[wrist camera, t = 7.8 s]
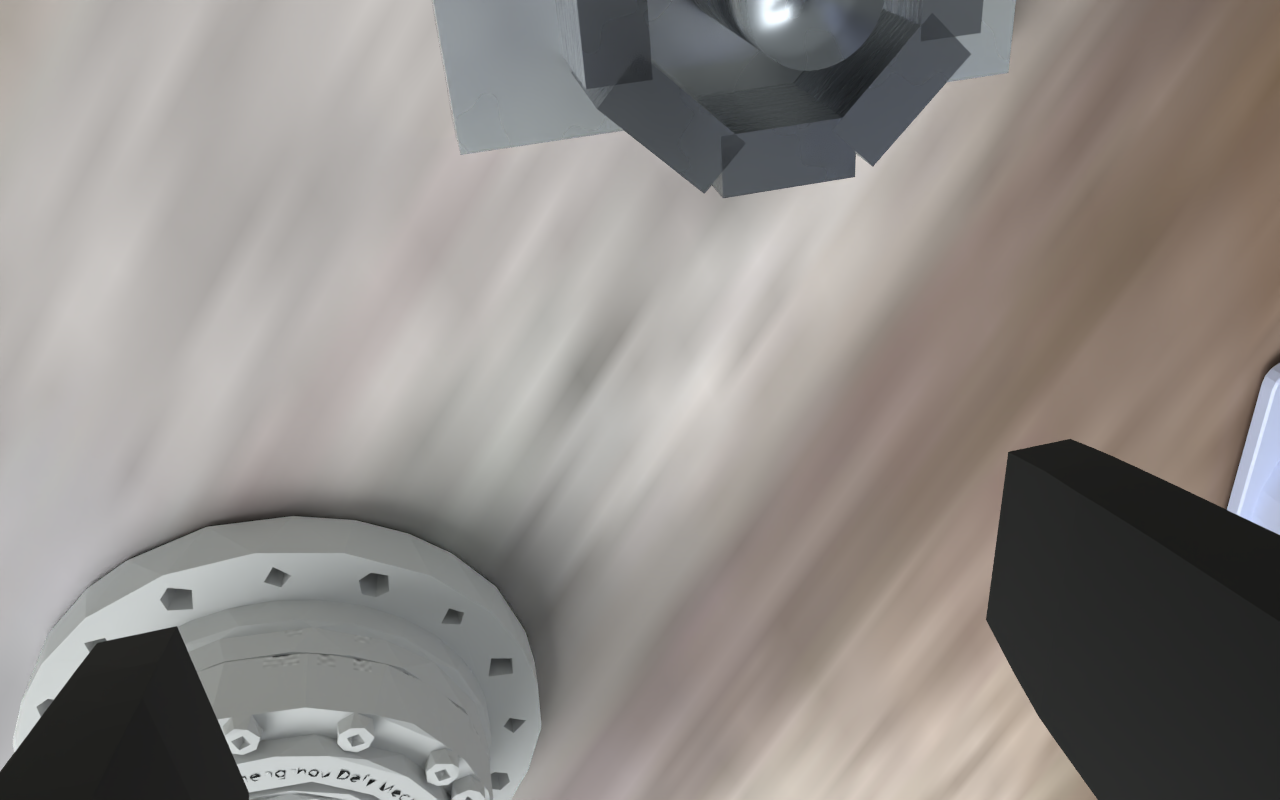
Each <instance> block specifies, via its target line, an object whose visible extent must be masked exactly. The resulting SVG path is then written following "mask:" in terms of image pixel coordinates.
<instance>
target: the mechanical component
mask: <svg viewBox="0 0 1280 800" xmlns="http://www.w3.org/2000/svg"><path fill="white" fill-rule="evenodd" d="M175 626H177V627H178V630H179V632H180V634H181V637H182V639H183V641H184V644H185V646H186V648H187V650H188V653H189V655H190V657H191V660H192V662H193V664H194V667H195V669H196V671H197V674H198V676H199V678H200V681H201V683H202V685H203V687H204V690H205V692H206V694H207V697H208V699H209V701H210V704H211V706H212V708H213V711H214V713H215V715H216V718H217V720H218V722H219V724H220V727H221V729H222V731H223V734H224V736H225V738H226V741H227V743H228V745H229V748H230V750H231V752H232V755H233V757H234V759H235V761H236V764H237V766H238V768H239V771H240V773H241V775H242V778H243V780H244V782H245V785H246V787H247V789H248V792H249V800H511V799H512V797H513V795H514V793H515V792H516V790H517V788H518V787H519V785H520V783H521V781H522V780H523V778H524V776H525V775H526V773H527V771H528V769H529V766H530V763H531V760H532V756H533V753H534V750H535V746H536V743H537V740H538V737H539V733H540V730H541V716H540V704H539V692H538V682H537V674H536V667H535V661H534V658H533V655H532V651H531V648H530V645H529V642H528V638H527V635H526V632H525V630H524V628H523V627H522V625H521V624H520V622H519V621H518V619H517V618H516V616H515V615H514V613H513V612H512V610H511V609H510V607H509V605H508V604H507V602H506V601H505V599H504V598H503V596H502V595H501V593H500V592H499V590H498V589H497V587H496V586H494V585H493V584H492V583H490V582H489V581H488V580H487V579H485V578H484V577H483V576H481V575H480V574H479V573H477V572H476V571H475V570H473V569H472V568H471V567H469V566H468V565H467V564H465V563H464V562H463V561H461V560H460V559H459V558H457V557H456V556H455V555H453V554H452V553H450V552H448V551H446V550H443V549H441V548H439V547H437V546H435V545H432V544H430V543H428V542H426V541H424V540H421V539H419V538H417V537H415V536H413V535H410V534H408V533H404V532H400V531H396V530H392V529H388V528H384V527H380V526H376V525H372V524H368V523H364V522H360V521H356V520H345V519H330V518H315V517H300V516H289V517H281V518H273V519H265V520H257V521H249V522H241V523H233V524H225V525H217V526H209V527H205V528H203V529H200V530H198V531H195V532H193V533H191V534H188V535H186V536H184V537H181V538H179V539H177V540H174V541H172V542H169V543H167V544H165V545H162V546H160V547H158V548H155V549H153V550H150V551H148V552H146V553H143V554H141V555H139V556H136V557H134V558H132V559H129V560H127V561H125V562H124V563H122V564H121V565H120V566H118V567H117V568H115V569H114V570H113V571H111V572H110V573H108V574H107V575H105V576H104V577H103V578H101V579H100V580H98V581H97V582H96V583H94V584H93V585H91V586H90V587H89V588H87V589H86V590H85V591H84V593H83V594H82V595H81V596H80V597H79V598H78V600H77V601H76V602H75V603H74V604H73V605H72V607H71V608H70V609H69V610H68V611H67V612H66V614H65V615H64V616H63V617H62V618H61V619H60V620H59V622H58V623H57V624H56V625H55V626H54V627H53V629H52V630H51V631H50V632H49V633H48V635H47V638H46V640H45V643H44V645H43V648H42V650H41V653H40V655H39V658H38V661H37V663H36V666H35V668H34V671H33V673H32V676H31V678H30V681H29V683H28V686H27V688H26V691H25V694H24V696H23V699H22V701H21V706H20V710H19V714H18V719H17V723H16V728H15V732H14V737H13V741H12V742H13V748H14V753H15V751H16V750H17V749H18V747H19V746H20V744H21V743H22V742H23V740H24V739H25V738H26V736H27V735H28V734H29V732H30V731H31V730H32V728H33V727H34V726H35V724H36V723H37V722H38V720H39V719H40V718H41V716H42V715H43V713H44V712H45V711H46V709H47V708H48V707H49V705H50V704H51V703H52V701H53V700H54V699H55V697H56V696H57V695H58V693H59V692H60V691H61V689H62V688H63V687H64V685H65V684H66V683H67V681H68V680H69V679H70V678H71V676H72V675H73V674H74V672H75V671H76V670H77V668H78V667H79V666H80V664H81V663H82V662H83V660H84V659H85V658H86V656H87V655H88V654H89V653H90V651H91V650H92V649H93V647H94V646H95V645H96V644H97V643H99V642H104V641H108V640H113V639H118V638H123V637H127V636H132V635H137V634H142V633H146V632H151V631H156V630H161V629H166V628H170V627H175Z"/></svg>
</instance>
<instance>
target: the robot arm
mask: <svg viewBox="0 0 1280 800" xmlns="http://www.w3.org/2000/svg"><path fill="white" fill-rule="evenodd" d="M986 620H987V622H988V624H989V626H990V628H991V630H992V632H993V634H994V636H995V637H996V639H997V641H998V643H999V645H1000V647H1001V649H1002V651H1003V653H1004V655H1005V657H1006V658H1007V660H1008V662H1009V664H1010V666H1011V668H1012V670H1013V672H1014V674H1015V675H1016V677H1017V679H1018V681H1019V682H1020V684H1021V686H1022V688H1023V690H1024V691H1025V693H1026V695H1027V697H1028V698H1029V700H1030V702H1031V704H1032V705H1033V707H1034V709H1035V711H1036V712H1037V714H1038V716H1039V718H1040V719H1041V720H1042V722H1043V723H1044V725H1045V726H1046V728H1047V729H1048V730H1049V732H1050V733H1051V735H1052V736H1053V738H1054V739H1055V740H1056V742H1057V743H1058V745H1059V746H1060V747H1061V749H1062V750H1063V752H1064V753H1065V754H1066V756H1067V757H1068V759H1069V760H1070V761H1071V763H1072V764H1073V766H1074V767H1075V768H1076V770H1077V771H1078V773H1079V774H1080V775H1081V777H1082V778H1083V780H1084V781H1085V782H1086V784H1087V785H1088V787H1089V788H1090V789H1091V791H1092V792H1093V794H1094V795H1095V796H1096V798H1097V799H1098V800H1280V363H1278V364H1277V365H1275V366H1274V367H1273V368H1271V369H1270V370H1269V372H1268V373H1267V374H1266V375H1265V377H1264V380H1263V382H1262V385H1261V389H1260V392H1259V396H1258V400H1257V403H1256V407H1255V410H1254V414H1253V417H1252V421H1251V425H1250V428H1249V432H1248V435H1247V439H1246V443H1245V446H1244V450H1243V453H1242V457H1241V460H1240V464H1239V468H1238V471H1237V475H1236V478H1235V482H1234V486H1233V489H1232V493H1231V496H1230V500H1229V504H1228V507H1227V510H1226V509H1224V508H1222V507H1219V506H1217V505H1215V504H1213V503H1211V502H1209V501H1207V500H1205V499H1203V498H1201V497H1198V496H1196V495H1194V494H1192V493H1190V492H1188V491H1186V490H1184V489H1182V488H1180V487H1177V486H1175V485H1173V484H1171V483H1169V482H1167V481H1165V480H1163V479H1160V478H1158V477H1156V476H1154V475H1152V474H1150V473H1148V472H1145V471H1143V470H1141V469H1139V468H1137V467H1135V466H1133V465H1130V464H1128V463H1126V462H1124V461H1121V460H1119V459H1117V458H1115V457H1113V456H1110V455H1108V454H1106V453H1103V452H1101V451H1099V450H1096V449H1094V448H1092V447H1089V446H1087V445H1084V444H1082V443H1079V442H1077V441H1074V440H1071V439H1068V440H1063V441H1058V442H1054V443H1049V444H1044V445H1039V446H1035V447H1030V448H1025V449H1020V450H1016V451H1011V452H1008V459H1007V467H1006V474H1005V482H1004V489H1003V497H1002V504H1001V512H1000V519H999V527H998V534H997V542H996V550H995V557H994V565H993V572H992V580H991V587H990V595H989V602H988V610H987V617H986ZM0 800H249V792H248V789H247V787H246V785H245V782H244V780H243V778H242V775H241V773H240V771H239V768H238V766H237V764H236V761H235V759H234V757H233V755H232V752H231V750H230V748H229V745H228V743H227V741H226V738H225V736H224V734H223V731H222V729H221V727H220V724H219V722H218V720H217V718H216V715H215V713H214V711H213V708H212V706H211V704H210V701H209V699H208V697H207V694H206V692H205V690H204V687H203V685H202V683H201V681H200V678H199V676H198V674H197V671H196V669H195V667H194V664H193V662H192V660H191V657H190V655H189V653H188V650H187V648H186V646H185V644H184V641H183V639H182V637H181V634H180V632H179V630H178V627H177V626H175V627H170V628H166V629H161V630H156V631H151V632H146V633H142V634H137V635H132V636H127V637H123V638H118V639H113V640H108V641H104V642H99V643H97V644H96V645H95V646H94V647H93V649H92V650H91V651H90V653H89V654H88V655H87V656H86V658H85V659H84V660H83V662H82V663H81V664H80V666H79V667H78V668H77V670H76V671H75V672H74V674H73V675H72V676H71V678H70V679H69V680H68V681H67V683H66V684H65V685H64V687H63V688H62V689H61V691H60V692H59V693H58V695H57V696H56V697H55V699H54V700H53V701H52V703H51V704H50V705H49V707H48V708H47V709H46V711H45V712H44V713H43V715H42V716H41V718H40V719H39V720H38V722H37V723H36V724H35V726H34V727H33V728H32V730H31V731H30V732H29V734H28V735H27V736H26V738H25V739H24V740H23V742H22V743H21V744H20V746H19V747H18V749H17V750H16V751H15V753H14V754H13V755H12V757H11V758H10V759H9V761H8V762H7V763H6V765H5V766H4V767H3V769H2V770H1V771H0Z"/></svg>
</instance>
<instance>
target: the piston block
mask: <svg viewBox="0 0 1280 800" xmlns="http://www.w3.org/2000/svg"><path fill="white" fill-rule="evenodd" d="M432 4H433V10H434V15H435V21H436V27H437V32H438V38H439V43H440V49H441V55H442V60H443V66H444V72H445V77H446V83H447V89H448V94H449V100H450V106H451V111H452V117H453V123H454V128H455V134H456V138H457V142H458V146H459V150H460V154H461V155H463V154H470V153H476V152H483V151H490V150H496V149H503V148H510V147H516V146H523V145H530V144H537V143H543V142H550V141H557V140H563V139H570V138H577V137H583V136H590V135H597V134H603V133H610V132H617V131H623V130H624V131H625V132H627V133H628V134H629V135H631V136H632V137H633V138H634V139H636V140H637V141H638V142H639V143H641V144H642V145H643V146H645V147H646V148H647V149H648V150H650V151H651V152H652V153H653V154H655V155H656V156H657V157H658V158H660V159H661V160H662V161H664V162H665V163H666V164H667V165H669V166H670V167H671V168H672V169H674V170H675V171H676V172H677V173H679V174H680V175H681V176H683V177H684V178H685V179H686V180H688V181H689V182H690V183H691V184H693V185H694V186H695V187H697V188H698V189H699V190H700V191H702V192H703V193H705V192H706V191H707V190H708V189H709V187H710V186H711V185H712V186H713V187H714V188H715V189H716V191H717V192H718V193H719V194H720V195H721V196H722V198H728V197H734V196H740V195H746V194H752V193H758V192H765V191H771V190H777V189H783V188H789V187H795V186H802V185H808V184H814V183H820V182H826V181H832V180H839V179H845V178H851V177H855V157H856V154H857V155H858V156H860V157H861V158H862V159H864V160H865V161H866V162H867V163H869V164H870V165H871V166H874V165H875V163H876V162H877V161H878V160H879V159H880V158H881V157H882V155H883V154H884V153H885V152H886V151H887V150H888V149H889V147H890V146H891V145H892V144H893V143H894V142H895V141H896V139H897V138H898V137H899V136H900V135H901V134H902V133H903V131H904V130H905V129H906V128H907V127H908V126H909V125H910V123H911V122H912V121H913V120H914V119H915V118H916V117H917V116H918V114H919V113H920V112H921V111H922V110H923V109H924V108H925V106H926V105H927V104H928V103H929V102H930V101H931V100H932V98H933V97H934V96H935V95H936V94H937V93H938V92H939V90H940V89H941V88H942V87H943V86H944V85H945V84H946V82H950V81H957V80H964V79H970V78H977V77H984V76H991V75H997V74H1004V73H1008V70H1009V60H1010V51H1011V42H1012V32H1013V23H1014V14H1015V4H1016V0H432Z"/></svg>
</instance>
